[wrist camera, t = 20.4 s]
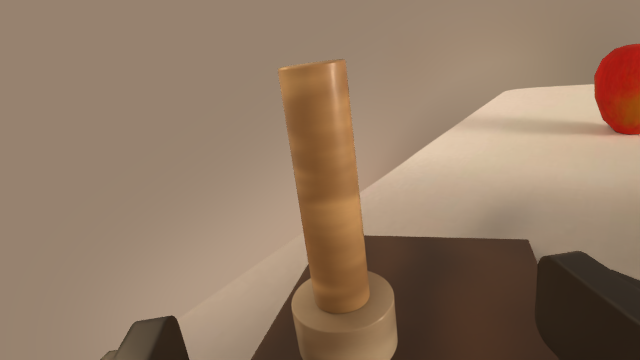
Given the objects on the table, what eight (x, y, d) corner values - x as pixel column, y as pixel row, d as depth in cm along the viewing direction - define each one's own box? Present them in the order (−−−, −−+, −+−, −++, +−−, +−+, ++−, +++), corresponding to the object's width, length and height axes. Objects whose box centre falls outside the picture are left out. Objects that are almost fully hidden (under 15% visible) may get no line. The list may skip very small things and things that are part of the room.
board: (245, 410, 18) (237, 380, 17) (328, 254, 30) (325, 234, 30) (603, 480, 13) (609, 442, 13) (527, 263, 26) (528, 239, 25)
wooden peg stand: (280, 362, 18) (221, 76, 14) (325, 300, 22) (290, 64, 18) (378, 393, 16) (343, 62, 11) (409, 318, 20) (391, 51, 15)
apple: (700, 133, 46) (720, 26, 42) (624, 143, 46) (638, 38, 42) (637, 120, 55) (649, 31, 51) (574, 129, 55) (581, 40, 51)
